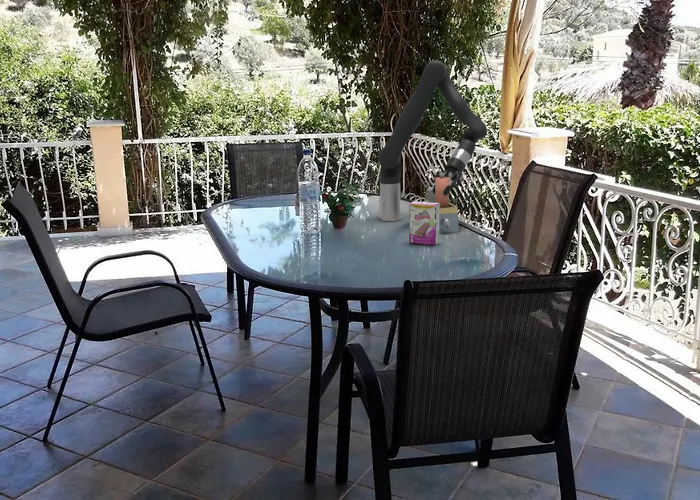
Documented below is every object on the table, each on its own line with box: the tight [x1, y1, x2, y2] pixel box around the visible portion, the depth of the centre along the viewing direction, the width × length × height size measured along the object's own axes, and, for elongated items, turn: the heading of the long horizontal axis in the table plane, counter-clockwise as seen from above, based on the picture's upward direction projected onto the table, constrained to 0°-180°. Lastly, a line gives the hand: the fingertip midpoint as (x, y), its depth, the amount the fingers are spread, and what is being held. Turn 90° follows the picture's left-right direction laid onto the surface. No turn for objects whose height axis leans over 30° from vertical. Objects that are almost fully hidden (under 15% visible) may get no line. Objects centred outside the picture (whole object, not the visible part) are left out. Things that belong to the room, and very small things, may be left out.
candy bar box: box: [408, 200, 440, 247], centre depth 257 cm, size 11×5×16 cm, turn 65°
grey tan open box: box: [439, 201, 460, 234], centre depth 278 cm, size 11×16×10 cm
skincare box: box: [427, 186, 435, 203], centre depth 291 cm, size 8×7×16 cm
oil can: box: [434, 173, 450, 208], centre depth 275 cm, size 6×6×14 cm
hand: (439, 193), depth 275 cm, fingers closed on oil can, 5 cm apart
